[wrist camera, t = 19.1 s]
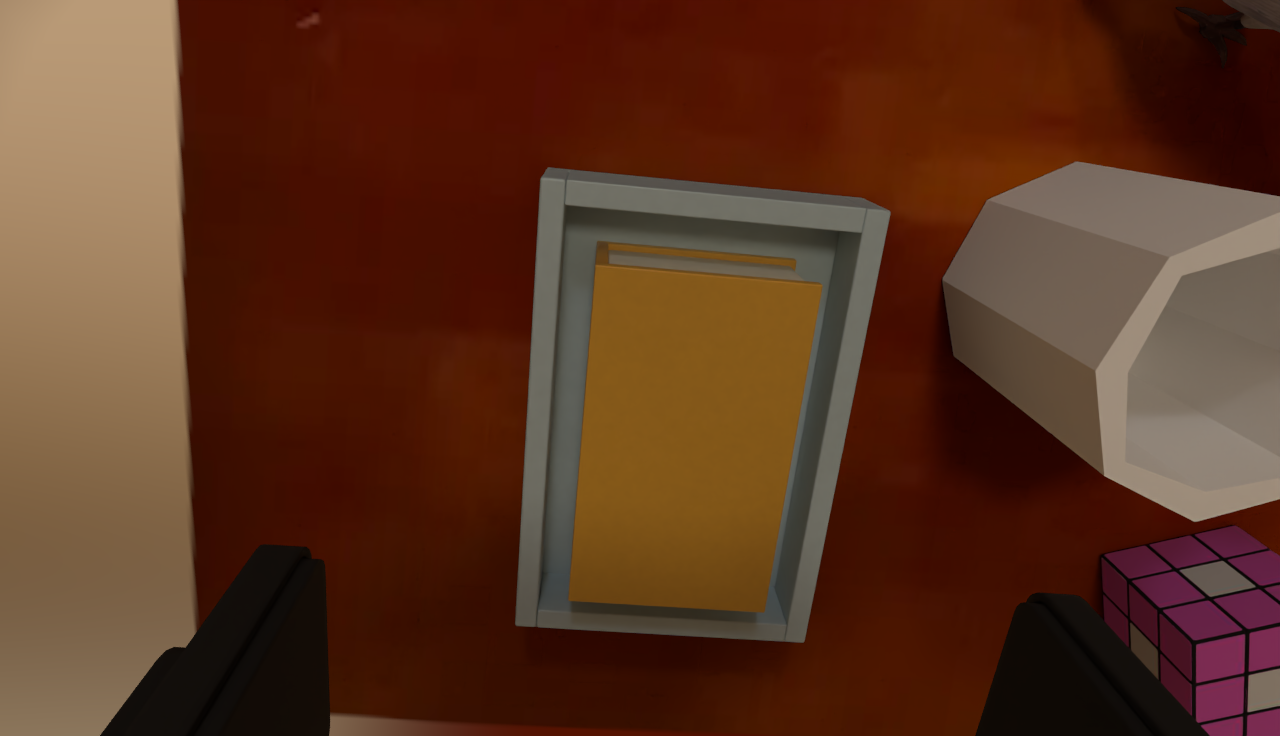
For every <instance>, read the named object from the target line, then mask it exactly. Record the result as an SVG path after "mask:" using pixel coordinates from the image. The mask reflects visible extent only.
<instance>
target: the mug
mask: <svg viewBox="0 0 1280 736" xmlns="http://www.w3.org/2000/svg"><path fill="white" fill-rule="evenodd" d="M942 283H943V289H944V296H945V303H946V309H947V316H948V323H949V329H950V336H951V343H952V349H953V356H954V357H956V358H957V359H958V360H959V361H961V362H962V363H963V364H964V365H966V366H967V367H968V368H969V369H971V370H972V371H973V372H974V373H976V374H977V375H978V376H979V377H981V378H982V379H983V380H984V381H986V382H987V383H988V384H990V385H991V386H992V387H993V388H995V389H996V390H997V391H998V392H1000V393H1001V394H1002V395H1003V396H1005V397H1006V398H1007V399H1008V400H1010V401H1011V402H1012V403H1013V404H1015V405H1016V406H1017V407H1018V408H1020V409H1021V410H1022V411H1023V412H1025V413H1026V414H1027V415H1028V416H1030V417H1031V418H1032V419H1033V420H1035V421H1036V422H1037V423H1038V424H1040V425H1041V426H1042V427H1044V428H1045V429H1046V430H1047V431H1049V432H1050V433H1051V434H1052V435H1054V436H1055V437H1056V438H1057V439H1059V440H1060V441H1061V442H1062V443H1064V444H1065V445H1066V446H1067V447H1069V448H1070V449H1071V450H1072V451H1074V452H1075V453H1076V454H1077V455H1079V456H1080V457H1081V458H1082V459H1084V460H1085V461H1086V462H1087V463H1089V464H1090V465H1091V466H1092V467H1094V468H1095V469H1096V470H1098V471H1099V472H1100V473H1101V474H1103V475H1104V476H1105V477H1107V478H1109V479H1111V480H1113V481H1115V482H1117V483H1119V484H1121V485H1123V486H1125V487H1127V488H1129V489H1131V490H1133V491H1135V492H1137V493H1139V494H1141V495H1143V496H1145V497H1147V498H1149V499H1151V500H1153V501H1155V502H1157V503H1158V504H1160V505H1162V506H1164V507H1166V508H1168V509H1170V510H1172V511H1174V512H1176V513H1178V514H1180V515H1182V516H1184V517H1186V518H1188V519H1190V520H1192V521H1194V522H1197V521H1201V520H1205V519H1208V518H1212V517H1216V516H1219V515H1223V514H1227V513H1230V512H1234V511H1238V510H1241V509H1245V508H1249V507H1252V506H1256V505H1260V504H1263V503H1267V502H1271V501H1274V500H1278V499H1280V196H1274V195H1268V194H1262V193H1257V192H1251V191H1245V190H1239V189H1233V188H1228V187H1222V186H1216V185H1210V184H1204V183H1199V182H1193V181H1187V180H1181V179H1176V178H1170V177H1164V176H1158V175H1152V174H1147V173H1141V172H1135V171H1129V170H1123V169H1118V168H1112V167H1106V166H1100V165H1094V164H1089V163H1083V162H1075V163H1072V164H1070V165H1068V166H1065V167H1063V168H1060V169H1058V170H1056V171H1053V172H1051V173H1049V174H1046V175H1044V176H1042V177H1039V178H1037V179H1035V180H1032V181H1030V182H1028V183H1025V184H1023V185H1021V186H1018V187H1016V188H1014V189H1011V190H1009V191H1007V192H1004V193H1002V194H1000V195H997V196H995V197H993V198H990V199H988V200H987V201H986V203H985V205H984V206H983V208H982V210H981V212H980V213H979V215H978V217H977V219H976V220H975V222H974V224H973V226H972V227H971V229H970V231H969V233H968V235H967V236H966V238H965V240H964V242H963V243H962V245H961V247H960V249H959V250H958V252H957V254H956V256H955V257H954V259H953V261H952V263H951V264H950V266H949V268H948V270H947V272H946V273H945V275H944V277H943V279H942Z"/></svg>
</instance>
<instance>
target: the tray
mask: <svg viewBox="0 0 1280 736" xmlns="http://www.w3.org/2000/svg"><path fill="white" fill-rule="evenodd" d="M889 218H890V211H889V210H887V209H885V208H883V207H881V206H878V205H876V204H874V203H872V202H870V201H867V200H865V199H863V198H857V197H847V196H837V195H826V194H816V193H806V192H795V191H785V190H775V189H764V188H754V187H744V186H734V185H723V184H713V183H703V182H692V181H682V180H672V179H662V178H651V177H641V176H631V175H620V174H610V173H600V172H589V171H579V170H569V169H559V168H547V170H546V171H545V173H544V174H543V176H542V177H541V179H540V194H539V211H538V229H537V247H536V264H535V282H534V299H533V317H532V335H531V352H530V370H529V387H528V405H527V423H526V440H525V458H524V475H523V493H522V511H521V528H520V546H519V563H518V581H517V599H516V616H515V624H516V626H527V627H535V626H536V625H537V627H541V628H558V629H576V630H593V631H610V632H627V633H645V634H662V635H679V636H697V637H714V638H731V639H749V640H766V641H786V642H800V643H803V642H804V641H805V636H806V631H807V626H808V621H809V616H810V611H811V606H812V601H813V596H814V591H815V586H816V581H817V576H818V571H819V566H820V561H821V556H822V551H823V546H824V541H825V536H826V531H827V526H828V521H829V516H830V511H831V506H832V502H833V497H834V492H835V487H836V482H837V477H838V472H839V467H840V462H841V457H842V452H843V447H844V442H845V437H846V432H847V427H848V422H849V417H850V412H851V407H852V402H853V397H854V392H855V387H856V382H857V377H858V372H859V367H860V362H861V357H862V352H863V347H864V342H865V337H866V332H867V327H868V322H869V317H870V312H871V307H872V302H873V297H874V292H875V287H876V282H877V277H878V272H879V267H880V263H881V258H882V253H883V248H884V243H885V238H886V233H887V228H888V223H889ZM597 241H608V242H619V243H630V244H641V245H652V246H663V247H674V248H685V249H696V250H707V251H718V252H729V253H740V254H751V255H762V256H773V257H784V258H794V259H795V260H796V261H797V263H796V269H795V272H796V273H797V274H798V275H799V276H800V277H801V278H802V279H803V280H804V281H809V282H819V283H821V284H822V286H823V287H822V293H821V299H820V304H819V310H818V315H817V321H816V327H815V332H814V338H813V343H812V349H811V355H810V360H809V366H808V372H807V377H806V383H805V388H804V394H803V400H802V405H801V411H800V416H799V422H798V428H797V433H796V439H795V444H794V450H793V456H792V461H791V467H790V473H789V478H788V484H787V489H786V495H785V501H784V506H783V512H782V517H781V523H780V529H779V534H778V540H777V545H776V551H775V557H774V562H773V568H772V574H771V579H770V585H769V590H768V596H767V602H766V607H765V612H764V613H761V612H744V611H728V610H711V609H694V608H678V607H661V606H644V605H628V604H611V603H594V602H578V601H569V600H568V594H569V581H570V568H571V555H572V541H573V529H574V517H575V504H576V492H577V480H578V468H579V455H580V443H581V431H582V418H583V406H584V394H585V382H586V369H587V357H588V345H589V333H590V320H591V308H592V296H593V283H594V271H595V259H596V247H597Z"/></svg>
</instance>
